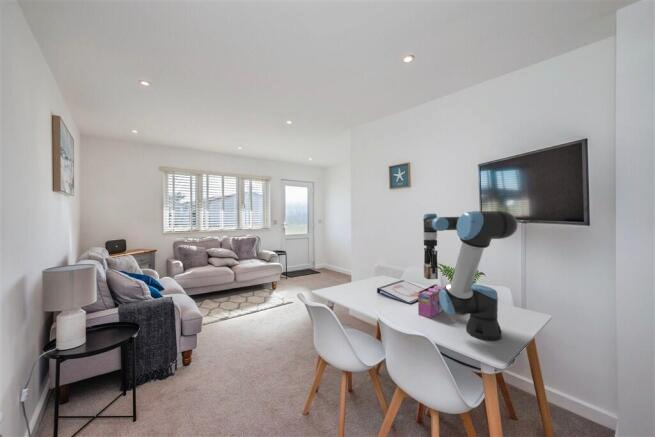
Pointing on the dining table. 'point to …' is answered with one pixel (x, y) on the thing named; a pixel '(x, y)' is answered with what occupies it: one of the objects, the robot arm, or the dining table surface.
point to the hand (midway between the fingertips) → (430, 277)
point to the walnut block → (427, 271)
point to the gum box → (429, 301)
